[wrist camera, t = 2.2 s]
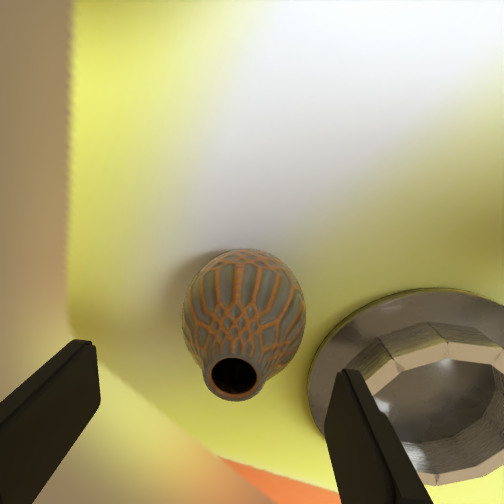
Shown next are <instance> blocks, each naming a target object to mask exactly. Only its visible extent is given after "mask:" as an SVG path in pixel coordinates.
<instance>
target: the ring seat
mask: <svg viewBox="0 0 504 504" xmlns="http://www.w3.org/2000/svg"><path fill="white" fill-rule="evenodd" d="M342 369H354V370H359V371H360V373H361V374H362V376H363V378H364V380H365V382H366V384H367V386H368V388H369V390H370V392H371V394H372V396H373V398H374V400H375V402H376V404H377V406H378V408H379V410H380V411H381V412H383V413H385V414H386V416H387V417H388V419H389V421H390V422H391V424H392V426H393V428H394V430H395V432H396V434H397V436H398V438H399V439H400V441H401V443H402V445H403V447H404V449H405V451H406V453H407V455H408V456H409V458H410V460H411V462H412V464H413V466H414V468H415V470H416V472H417V473H418V475H419V477H420V479H421V481H422V483H423V484H425V485H432V486H436V485H437V486H439V485H444V484H449V483H454V482H459V481H464V480H469V479H474V478H479V477H483V475H484V476H486V475H487V474H489V473H491V472H492V471H494V470H495V469H497V468H499V467H500V466H502V465H504V306H503V305H501V304H499V303H497V302H495V301H493V300H491V299H489V298H487V297H485V296H482V295H479V294H475V293H472V292H469V291H463V290H458V289H449V288H424V289H415V290H409V291H403V292H400V293H396V294H393V295H389V296H386V297H383V298H381V299H378V300H376V301H373V302H371V303H369V304H367V305H366V306H364V307H362V308H360V309H358V310H357V311H355V312H354V313H352V314H351V315H349V316H348V317H346V318H345V319H344V320H343V321H342V322H340V323H339V324H338V325H337V326H336V327H335V328H334V329H333V330H332V331H331V332H330V333H329V334H328V336H327V337H326V338H325V339H324V341H323V342H322V344H321V345H320V347H319V348H318V350H317V352H316V354H315V356H314V358H313V360H312V363H311V366H310V370H309V375H308V382H307V386H308V398H309V403H310V408H311V413H312V415H313V418H314V421H315V423H316V425H317V426H318V428H319V430H320V432H321V433H322V434H323V435H324V437H325V434H324V422H325V418H326V414H327V410H328V406H329V402H330V398H331V394H332V390H333V386H334V382H335V378H336V374H337V372H341V371H342Z"/></svg>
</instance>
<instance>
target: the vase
mask: <svg viewBox="0 0 504 504" xmlns="http://www.w3.org/2000/svg"><path fill="white" fill-rule="evenodd" d="M305 321H306V308H305V302H304V297H303V294H302V291H301V288H300V286H299V283H298V281H297V280H296V278H295V276H294V275H293V273H292V272H291V270H290V269H289V268H288V267H287V266H286V265H285V264H284V263H283V262H282V261H280V260H279V259H278V258H276V257H274V256H273V255H271V254H268V253H266V252H263V251H260V250H255V249H237V250H232V251H228V252H226V253H223V254H221V255H219V256H217V257H215V258H214V259H212V260H211V261H210V262H208V263H207V264H206V265H205V266H204V267H203V268H202V269H201V270H200V272H199V273H198V274H197V275H196V277H195V278H194V280H193V281H192V283H191V285H190V287H189V289H188V291H187V294H186V297H185V301H184V305H183V312H182V329H183V335H184V339H185V342H186V345H187V348H188V350H189V352H190V354H191V355H192V357H193V359H194V360H195V361H196V363H197V364H198V365H199V367H200V368H201V369H202V373H203V378H204V381H205V384H206V386H207V387H208V389H209V390H210V391H211V392H212V393H213V394H215V395H216V396H218V397H219V398H222V399H224V400H228V401H244V400H248V399H250V398H252V397H254V396H255V395H257V394H258V393H259V392H260V390H261V389H262V387H263V386H264V384H265V382H266V381H267V380H269V379H270V378H272V377H273V376H275V375H276V374H277V373H279V372H280V371H281V370H282V369H284V368H285V367H286V366H287V364H288V363H289V362H290V361H291V360H292V358H293V357H294V355H295V353H296V352H297V350H298V348H299V345H300V343H301V340H302V337H303V333H304V328H305Z"/></svg>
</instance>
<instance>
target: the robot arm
mask: <svg viewBox="0 0 504 504" xmlns="http://www.w3.org/2000/svg"><path fill="white" fill-rule="evenodd" d="M100 401H101V397H100V387H99V376H98V365H97V355H96V347H95V346H94V345H92V342H91V341H86V340H77V339H74V340H72V341H71V342H69V343H68V344H67V345H66V346H65V347H64V348H62V349H61V350H60V351H59V352H58V353H57V354H56V355H55V356H53V357H52V358H51V359H50V360H49V361H48V362H46V363H45V364H44V365H43V366H42V367H41V368H39V369H38V370H37V371H36V372H35V373H34V374H33V375H31V376H30V377H29V378H28V379H27V380H26V381H25V382H23V383H22V384H21V385H20V386H19V387H18V388H16V389H15V390H14V391H13V392H12V393H11V394H10V395H8V396H7V397H6V398H5V399H4V400H3V401H2V402H0V504H32V503H33V502H34V500H35V499H36V497H37V496H38V494H39V493H40V492H41V490H42V489H43V487H44V486H45V484H46V483H47V481H48V480H49V479H50V477H51V476H52V474H53V473H54V471H55V470H56V468H57V467H58V466H59V464H60V463H61V461H62V460H63V458H64V457H65V455H66V454H67V453H68V451H69V450H70V448H71V447H72V446H73V444H74V443H75V441H76V440H77V438H78V437H79V436H80V434H81V433H82V431H83V430H84V428H85V427H86V425H87V424H88V423H89V421H90V420H91V418H92V417H93V415H94V414H95V413H96V411H97V409H98V408H99V405H100ZM324 434H325V439H326V443H327V447H328V451H329V455H330V459H331V463H332V467H333V471H334V475H335V479H336V483H337V487H338V491H339V495H340V499H341V503H342V504H433V502H432V500H431V498H430V496H429V494H428V492H427V490H426V489H425V487H424V485H423V483H422V481H421V479H420V477H419V475H418V473H417V472H416V470H415V468H414V466H413V464H412V462H411V460H410V458H409V456H408V455H407V453H406V451H405V449H404V447H403V445H402V443H401V441H400V439H399V438H398V436H397V434H396V432H395V430H394V428H393V426H392V424H391V422H390V421H389V419H388V417H387V416H386V414H385V413H383V412H381V411H380V410H379V408H378V406H377V404H376V402H375V400H374V398H373V396H372V394H371V392H370V390H369V388H368V386H367V384H366V382H365V380H364V378H363V376H362V374H361V373H360V371H359V370H354V369H342V371H341V372H337V374H336V378H335V382H334V386H333V390H332V394H331V398H330V402H329V406H328V410H327V414H326V418H325V422H324Z"/></svg>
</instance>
